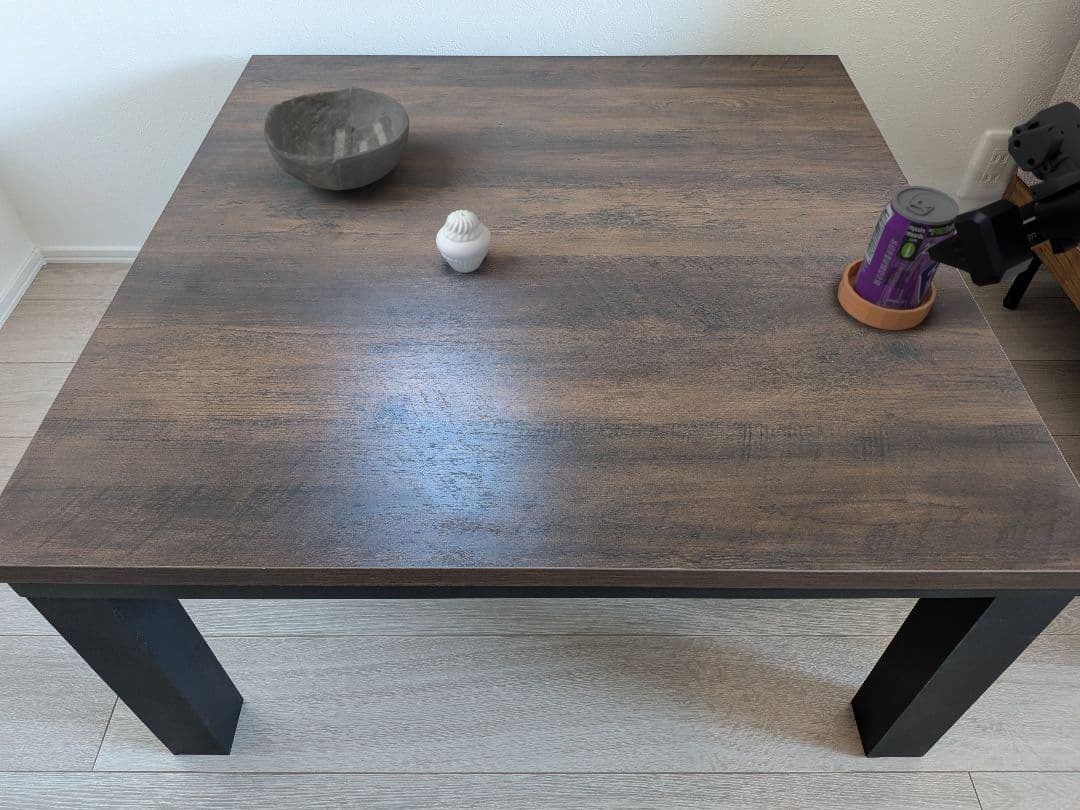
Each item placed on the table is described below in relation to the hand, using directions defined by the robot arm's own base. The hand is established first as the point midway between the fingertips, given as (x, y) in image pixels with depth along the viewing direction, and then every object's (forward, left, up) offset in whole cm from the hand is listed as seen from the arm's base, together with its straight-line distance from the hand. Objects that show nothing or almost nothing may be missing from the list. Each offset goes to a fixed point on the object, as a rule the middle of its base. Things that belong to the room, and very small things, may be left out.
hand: (963, 238), depth 74 cm
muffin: (+50, -1, -12) cm, 51 cm away
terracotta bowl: (+3, -4, -12) cm, 13 cm away
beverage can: (+3, -4, -11) cm, 12 cm away
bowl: (+70, -16, -12) cm, 72 cm away
